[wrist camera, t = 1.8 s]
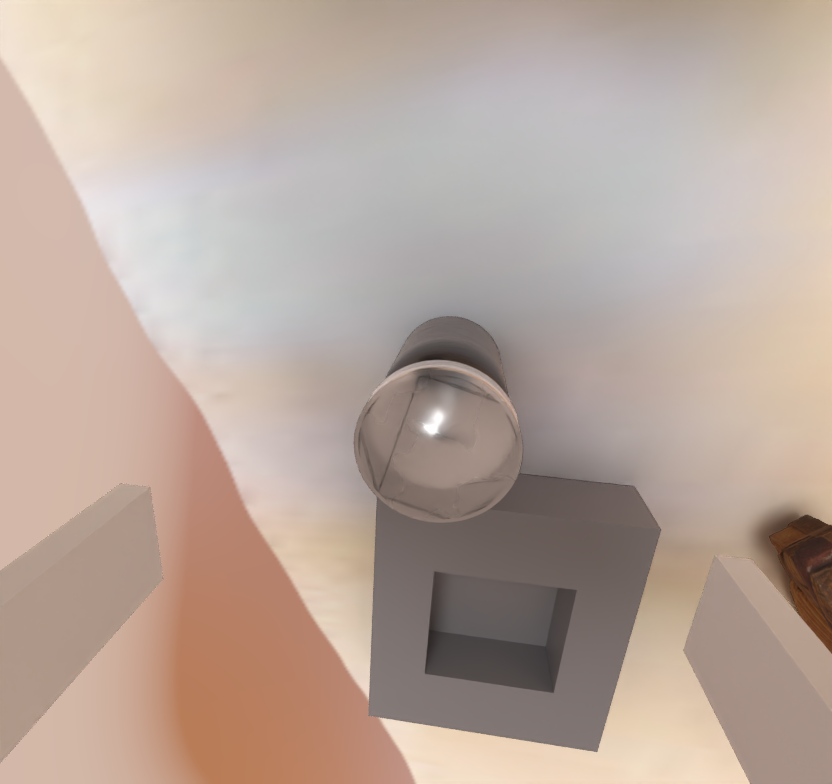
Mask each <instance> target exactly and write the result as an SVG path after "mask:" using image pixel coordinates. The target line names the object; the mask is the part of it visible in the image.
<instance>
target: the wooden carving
mask: <svg viewBox="0 0 832 784" xmlns="http://www.w3.org/2000/svg"><path fill="white" fill-rule="evenodd" d="M769 537H770V540H771V542H772V544H773V545H774V546H775V548H776V549H777V551H778V552H779V553H780V554H779V555H778V557H779V560H780V562H781V564H782V566H783V567H784V569H785V570H786V572H787V574H788V575H789V577H790V578H791V579H792V580H791V581H790V589H791V594H792V596H793V599H794V602H795V604H796V607H797V610H798V611H799V614H800V616H801V618H802V619H803V620H804V622H805V623H806V624H807V625H808V626H809V628H810V629H811V630H812V631H813V632H814V633H815V635H816V636H817V637H818V638H819V639H820V641H821V642H822V643H823V644H824V645H825V646H826V648H827V649H828V650H829V651H830V652H831V654H832V525H828V524H826V523H824V522H822V521H820V520H819V519H816V518H813V517H811V516H810V515H804V516H802V517H801V518H799V519H797V520H795V521H794V522H792V523H790V524H789V525H788V527H787V528H785V529H784V530H782V531H780V532H777V533H775V534H773V535H771V536H769Z"/></svg>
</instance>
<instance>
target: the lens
mask: <svg viewBox="0 0 832 784" xmlns="http://www.w3.org/2000/svg"><path fill="white" fill-rule="evenodd" d="M354 453H355V458H356V462H357V465H358V468H359V471H360V473H361V475H362V477H363V479H364V481H365V482H366V484H367V485H368V487H369V488H370V489H371V491H372V492H373V493H374V494H375V495H376V496H377V497H378V498H379V499H380V500H381V501H382V502H383V503H385V504H386V505H388V506H389V507H391V508H392V509H394V510H396V511H397V512H399V513H401V514H403V515H406V516H408V517H411V518H414V519H418V520H421V521H427V522H437V523H446V522H456V521H462V520H466V519H469V518H472V517H475V516H477V515H479V514H482V513H483V512H485V511H487V510H489V509H490V508H492V507H493V506H494V505H496V504H497V503H498V502H499V501H500V500H501V499H502V498H503V497H504V496H505V495H506V494H507V493H508V491H509V490H510V489H511V487H512V486H513V484H514V482H515V480H516V478H517V476H518V473H519V471H520V467H521V463H522V456H523V443H522V436H521V432H520V427H519V423H518V419H517V415H516V412H515V410H514V407H513V405H512V403H511V401H510V399H509V397H508V392H507V387H506V382H505V378H504V373H503V368H502V364H501V359H500V354H499V351H498V348H497V346H496V344H495V342H494V340H493V339H492V337H491V336H490V335H489V334H488V333H487V332H486V331H485V330H484V329H483V328H482V327H481V326H479V325H478V324H476V323H474V322H472V321H470V320H467V319H464V318H460V317H449V316H447V317H439V318H435V319H432V320H430V321H427V322H425V323H423V324H422V325H420V326H419V327H418V328H416V329H415V330H414V331H413V332H412V333H411V334H410V336H409V337H408V338H407V340H406V341H405V343H404V345H403V347H402V349H401V350H400V352H399V354H398V356H397V358H396V359H395V361H394V363H393V365H392V367H391V369H390V370H389V372H388V374H387V376H386V378H385V379H384V380H383V381H382V382H381V383H380V384H379V385H378V387H377V388H376V389H375V390H374V392H373V393H372V395H371V397H370V398H369V400H368V402H367V403H366V405H365V407H364V409H363V410H362V412H361V414H360V417H359V419H358V422H357V425H356V429H355V434H354Z"/></svg>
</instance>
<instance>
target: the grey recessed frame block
mask: <svg viewBox="0 0 832 784" xmlns="http://www.w3.org/2000/svg"><path fill="white" fill-rule="evenodd" d="M660 531H661V529H660V527H659V526H658V524H657V522H656V521H655V519H654V517H653V516H652V514H651V512H650V511H649V509H648V508H647V506H646V504H645V503H644V501H643V499H642V498H641V496H640V494H639V493H638V491H637V490H636V488H635V487H634V486H625V485H616V484H607V483H598V482H589V481H580V480H571V479H562V478H553V477H544V476H535V475H526V474H518V476H517V478H516V480H515V482H514V484H513V486H512V487H511V489H510V490H509V491H508V493H507V494H506V495H505V496H504V497H503V498H502V499H501V500H500V501H499V502H498V503H497V504H496V505H494V506H493V507H492V508H490V509H489V510H487V511H485V512H483V513H482V514H479V515H477V516H475V517H472V518H469V519H466V520H462V521H456V522H446V523H437V522H427V521H421V520H418V519H414V518H411V517H408V516H406V515H403V514H401V513H399V512H397V511H396V510H394V509H392V508H391V507H389V506H388V505H386V504H385V503H383V502H382V501H381V500H380V499H379V498H378V497H377V510H376V536H375V562H374V588H373V614H372V640H371V666H370V692H369V716H374V717H380V718H387V719H393V720H399V721H406V722H412V723H418V724H424V725H431V726H437V727H443V728H450V729H456V730H462V731H468V732H475V733H481V734H487V735H494V736H500V737H506V738H512V739H519V740H525V741H531V742H538V743H544V744H550V745H556V746H563V747H569V748H575V749H582V750H588V751H594V752H597V751H598V747H599V744H600V740H601V737H602V733H603V730H604V726H605V723H606V719H607V716H608V712H609V709H610V705H611V702H612V698H613V695H614V692H615V688H616V685H617V681H618V678H619V674H620V671H621V667H622V664H623V660H624V657H625V653H626V650H627V646H628V643H629V639H630V636H631V632H632V629H633V625H634V622H635V618H636V615H637V611H638V608H639V604H640V601H641V598H642V594H643V591H644V587H645V584H646V580H647V577H648V573H649V570H650V566H651V563H652V559H653V556H654V552H655V549H656V545H657V542H658V538H659V535H660Z"/></svg>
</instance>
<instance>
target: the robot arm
mask: <svg viewBox="0 0 832 784" xmlns="http://www.w3.org/2000/svg"><path fill="white" fill-rule="evenodd" d="M162 579H163V573H162V566H161V559H160V552H159V545H158V538H157V531H156V524H155V517H154V510H153V503H152V496H151V489H150V487H146V486H138V485H129V484H119V485H118V486H116V487H115V488H114V489H112V490H111V491H110V492H108V493H107V494H105V495H104V496H103V497H101V498H100V499H99V500H97V501H96V502H94V503H93V504H92V505H90V506H89V507H87V508H86V509H85V510H83V511H82V512H81V513H79V514H78V515H76V516H75V517H74V518H72V519H71V520H70V521H68V522H67V523H65V524H64V525H63V526H61V527H60V528H59V529H57V530H56V531H54V532H53V533H52V534H50V535H49V536H48V537H46V538H45V539H43V540H42V541H41V542H39V543H38V544H36V545H35V546H34V547H32V548H31V549H29V550H28V551H27V552H25V553H24V554H23V555H21V556H20V557H19V558H17V559H16V560H14V561H13V562H12V563H10V564H9V565H7V566H6V567H5V568H3V569H2V570H1V571H0V763H1V762H2V761H3V760H4V759H5V758H6V757H7V755H8V754H9V753H10V752H11V751H12V750H13V749H14V747H15V746H16V745H17V744H18V743H19V742H20V740H22V738H23V737H24V736H25V735H26V734H27V733H28V732H29V730H30V729H31V728H32V727H33V726H34V725H35V723H37V721H38V720H39V719H40V718H41V717H42V716H43V715H44V713H45V712H46V711H47V710H48V709H49V708H50V707H51V706H52V704H53V703H54V702H55V701H56V700H57V699H58V697H59V696H60V695H61V694H62V693H63V692H64V691H65V690H66V688H67V687H68V686H69V685H70V684H71V683H72V682H73V681H74V679H75V678H76V677H77V676H78V675H79V674H80V673H81V672H82V670H83V669H84V668H85V667H86V666H87V665H88V664H89V662H90V661H91V660H92V659H93V658H94V657H95V656H96V655H97V653H98V652H99V651H100V650H101V649H102V648H103V647H104V645H105V644H106V643H107V642H108V641H109V640H110V639H111V638H112V636H113V635H114V634H115V633H116V632H117V631H118V630H119V628H120V627H121V626H122V625H123V624H124V623H125V622H126V621H127V619H128V618H129V617H130V616H131V615H132V614H133V613H134V611H135V610H136V609H137V608H138V607H139V606H140V605H141V603H142V602H143V601H144V600H145V599H146V598H147V597H148V596H149V594H150V593H151V592H152V591H153V590H154V589H155V588H156V586H157V585H158V584H159V583H160V582H161V581H162ZM684 652H685V654H686V656H687V658H688V660H689V662H690V664H691V666H692V668H693V670H694V672H695V674H696V676H697V678H698V680H699V682H700V684H701V686H702V688H703V690H704V692H705V694H706V696H707V698H708V700H709V702H710V704H711V706H712V708H713V710H714V712H715V714H716V716H717V718H718V720H719V722H720V724H721V726H722V728H723V730H724V732H725V734H726V736H727V738H728V740H729V742H730V744H731V746H732V748H733V750H734V752H735V754H736V756H737V758H738V760H739V762H740V764H741V766H742V768H743V770H744V772H745V774H746V776H747V778H748V780H749V782H750V784H832V654H831V652H830V651H829V650H828V649H827V648H826V646H825V645H824V644H823V643H822V642H821V641H820V639H819V638H818V637H817V636H816V635H815V633H814V632H813V631H812V630H811V629H810V628H809V626H808V625H807V624H806V623H805V622H804V620H803V619H802V618H801V617H800V616H799V615H798V613H797V612H796V611H795V610H794V609H793V607H792V606H791V605H790V604H789V603H788V602H787V600H786V599H785V598H784V597H783V596H782V594H781V593H780V592H779V591H778V590H777V589H776V587H775V586H774V585H773V584H772V583H771V581H770V580H769V579H768V578H767V577H766V576H765V574H764V573H763V572H762V571H761V570H760V568H759V567H758V566H757V565H756V564H755V563H754V561H753V560H752V559H746V558H737V557H729V556H721V555H715V556H714V559H713V562H712V565H711V568H710V571H709V574H708V577H707V580H706V583H705V586H704V589H703V592H702V595H701V598H700V601H699V604H698V607H697V610H696V613H695V617H694V620H693V623H692V626H691V629H690V632H689V635H688V638H687V641H686V644H685V647H684Z"/></svg>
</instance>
